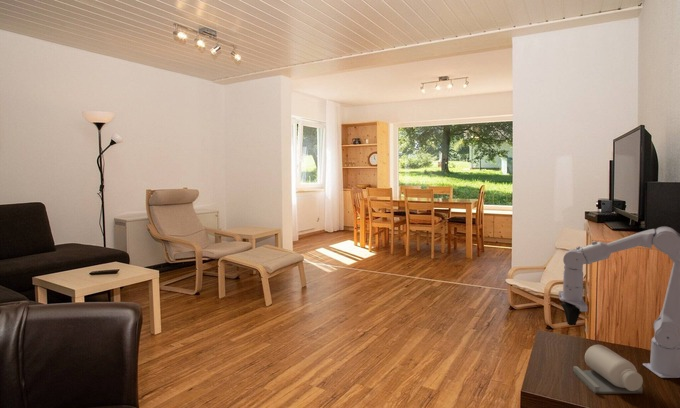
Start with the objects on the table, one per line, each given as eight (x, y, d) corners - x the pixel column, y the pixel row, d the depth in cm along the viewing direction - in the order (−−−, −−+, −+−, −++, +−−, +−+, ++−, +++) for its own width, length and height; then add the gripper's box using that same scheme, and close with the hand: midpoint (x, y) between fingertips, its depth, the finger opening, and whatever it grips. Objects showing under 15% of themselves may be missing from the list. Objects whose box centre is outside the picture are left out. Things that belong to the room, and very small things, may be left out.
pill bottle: (601, 371, 128) (640, 399, 113) (579, 363, 127) (615, 390, 112) (612, 348, 127) (652, 373, 113) (590, 340, 126) (628, 364, 112)
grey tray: (616, 371, 126) (616, 365, 126) (642, 393, 115) (642, 386, 115) (572, 372, 127) (573, 366, 126) (594, 393, 115) (595, 386, 115)
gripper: (550, 279, 145) (549, 316, 147) (572, 292, 131) (570, 333, 132) (570, 278, 145) (569, 316, 146) (595, 292, 130) (593, 333, 132)
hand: (571, 324), depth 139 cm, fingers closed
